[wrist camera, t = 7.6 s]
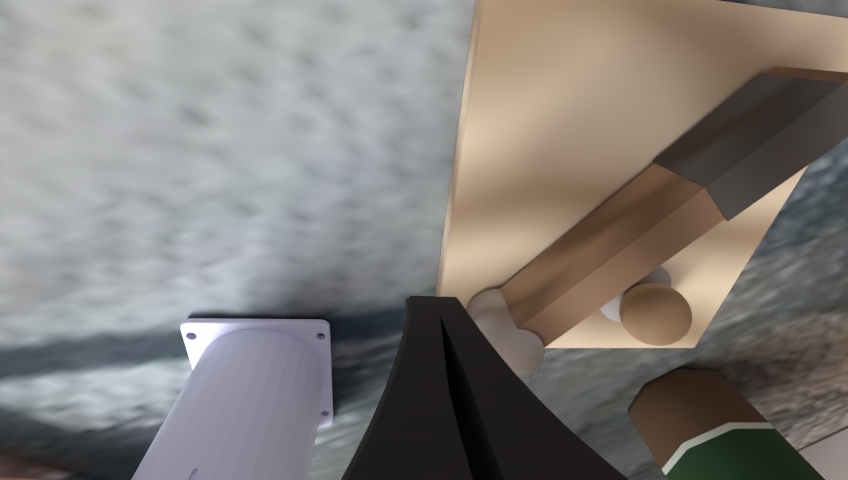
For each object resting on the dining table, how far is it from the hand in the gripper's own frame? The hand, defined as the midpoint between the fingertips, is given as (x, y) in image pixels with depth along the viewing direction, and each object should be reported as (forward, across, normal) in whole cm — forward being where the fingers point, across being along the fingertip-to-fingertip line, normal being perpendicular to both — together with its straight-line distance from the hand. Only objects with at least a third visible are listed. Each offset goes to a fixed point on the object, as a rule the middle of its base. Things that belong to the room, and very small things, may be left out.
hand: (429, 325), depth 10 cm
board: (+9, -10, 0) cm, 14 cm away
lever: (+8, -10, 0) cm, 12 cm away
